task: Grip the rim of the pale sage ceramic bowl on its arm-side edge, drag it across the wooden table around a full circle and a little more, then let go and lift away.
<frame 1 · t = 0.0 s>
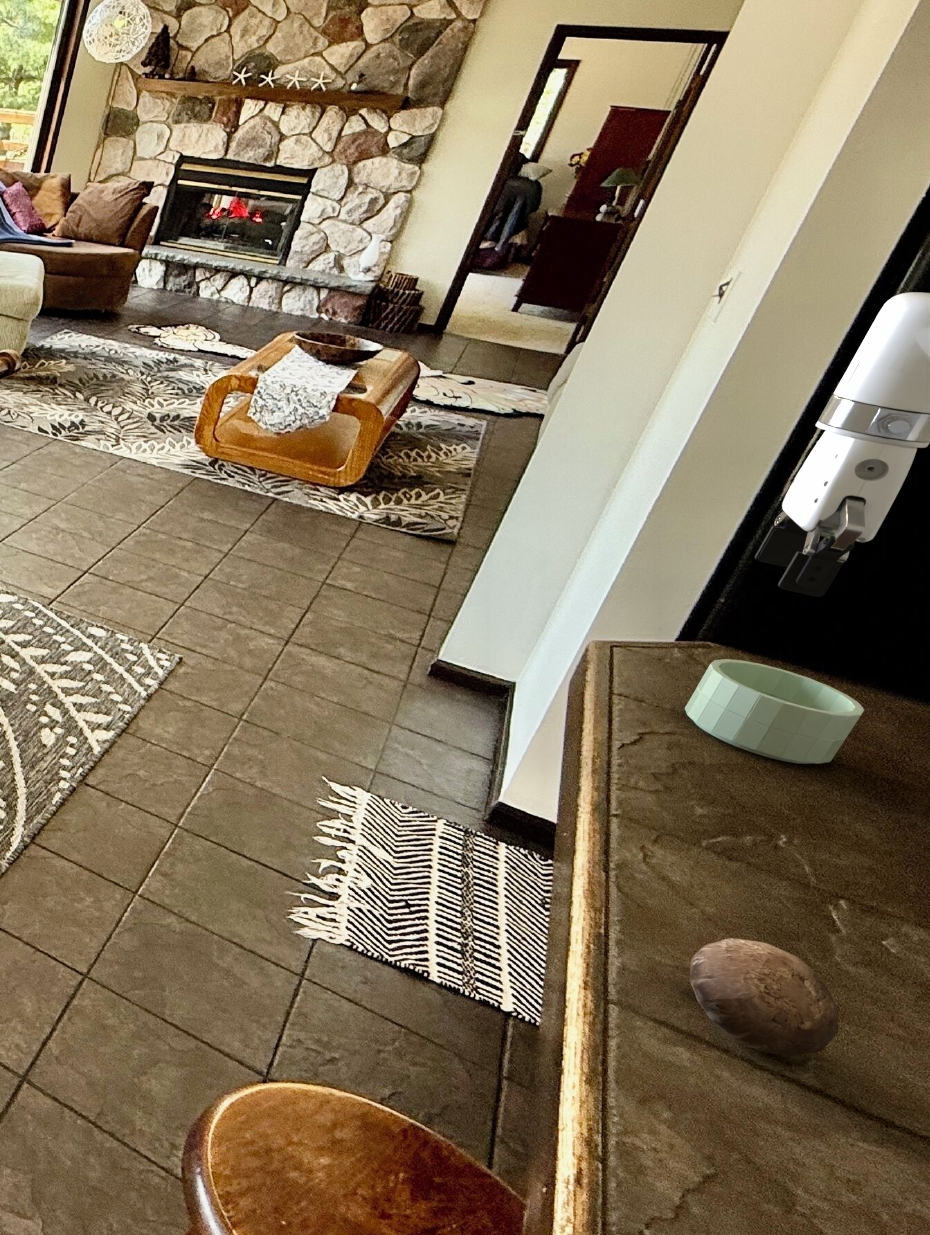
hand: (786, 577, 109), 18 cm above the countertop, tool pointing down, fingers open, 9 cm apart
mushroom: (738, 1027, 74), on the countertop
bowl: (753, 737, 113), on the countertop
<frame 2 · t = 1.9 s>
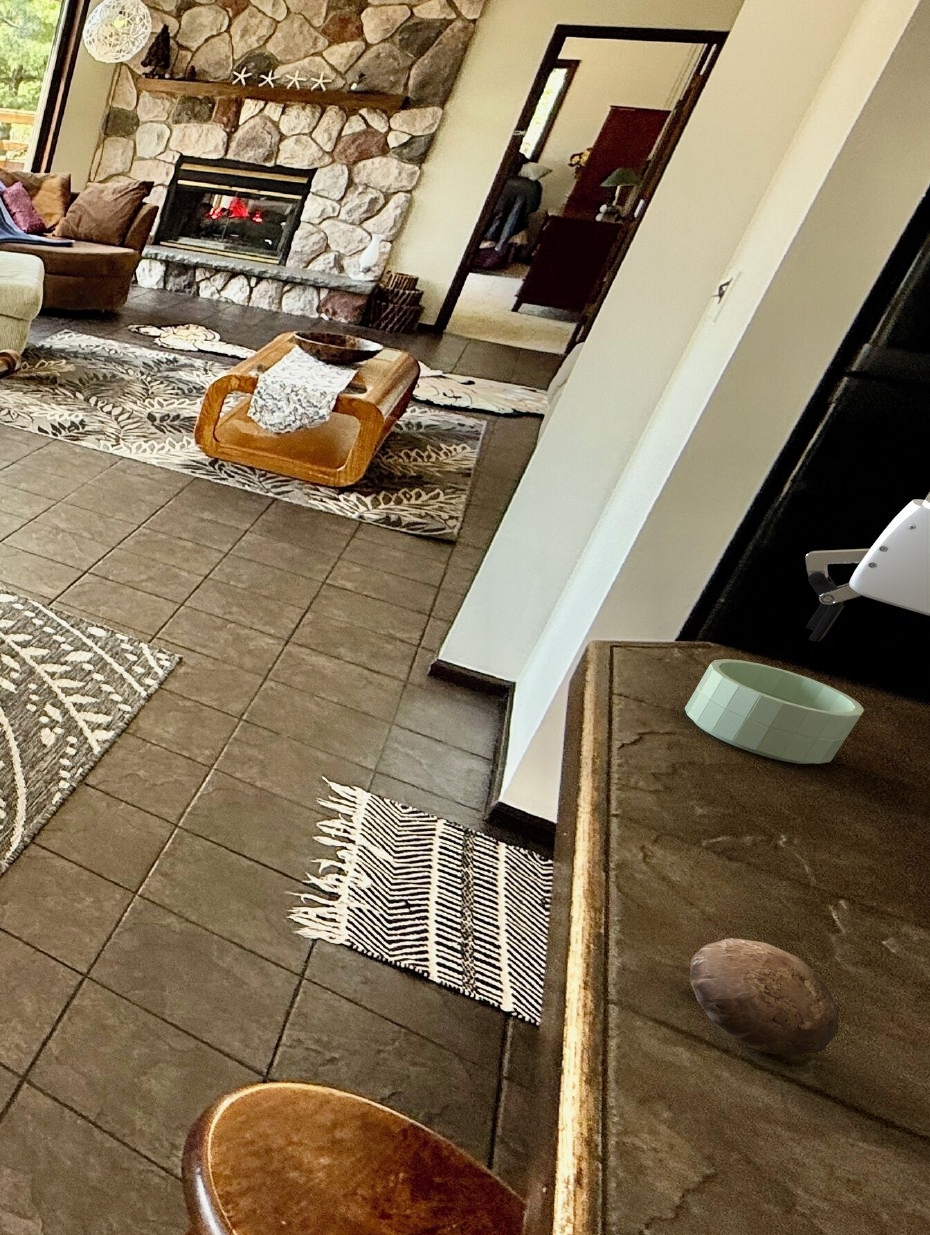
hand: (883, 660, 104), 12 cm above the countertop, tool pointing down, fingers open, 9 cm apart
nothing on the countertop moved.
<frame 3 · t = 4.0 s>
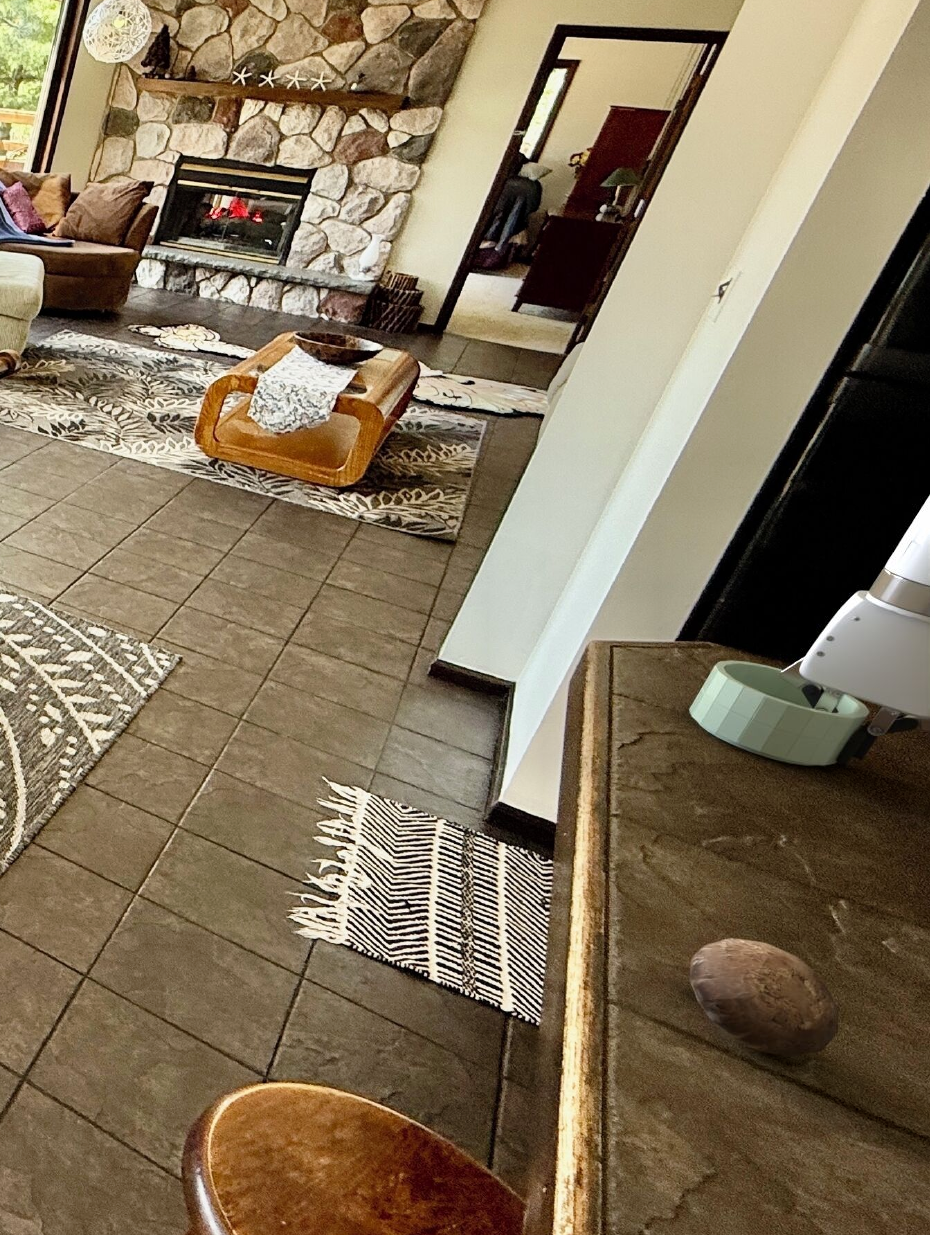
hand: (827, 753, 108), 1 cm above the countertop, tool pointing down, fingers closed on bowl
bowl: (758, 738, 112), on the countertop, touching gripper
everything else where it was.
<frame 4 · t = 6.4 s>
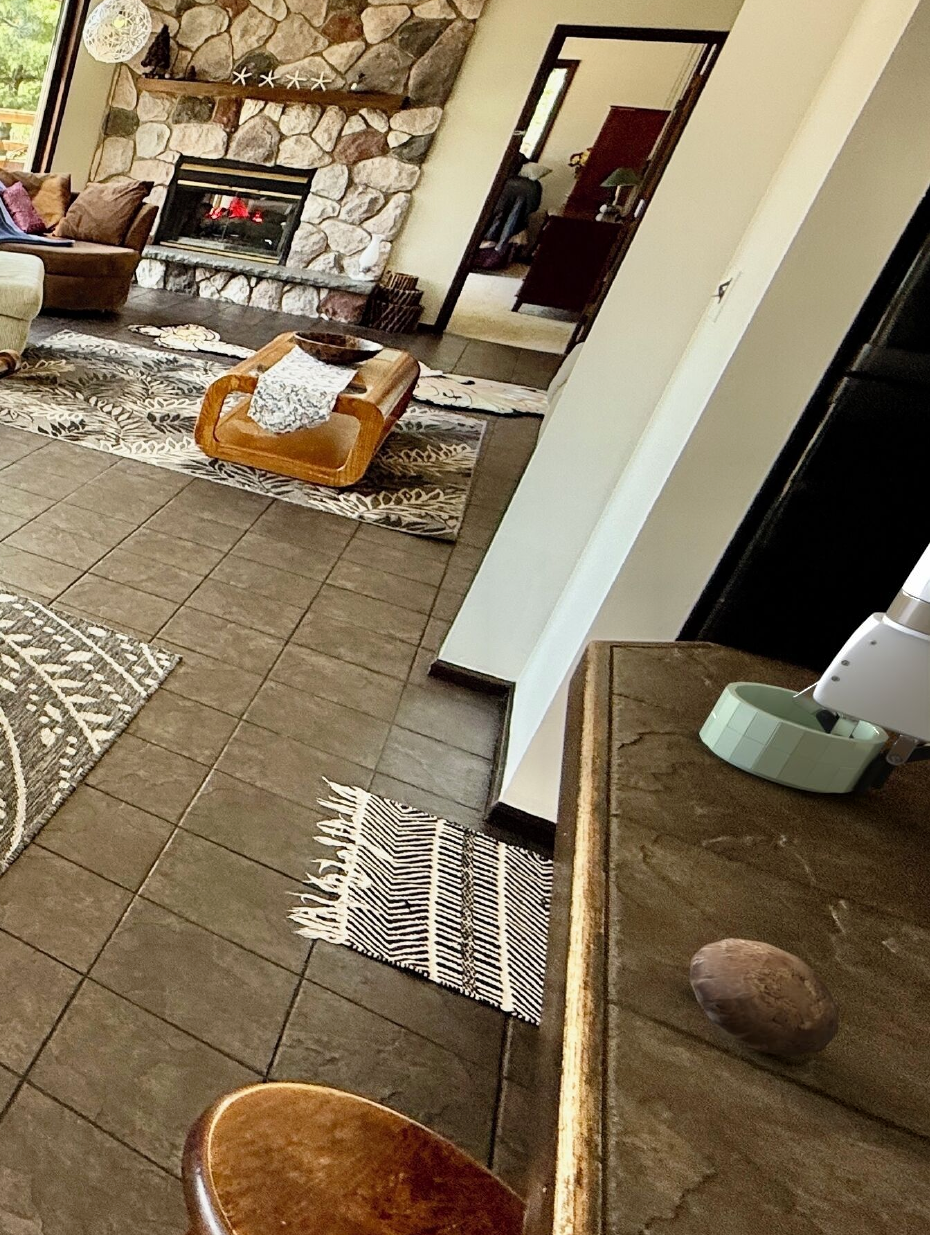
hand: (843, 782, 104), 1 cm above the countertop, tool pointing down, fingers closed on bowl
bowl: (771, 763, 108), on the countertop, touching gripper
everything else where it was.
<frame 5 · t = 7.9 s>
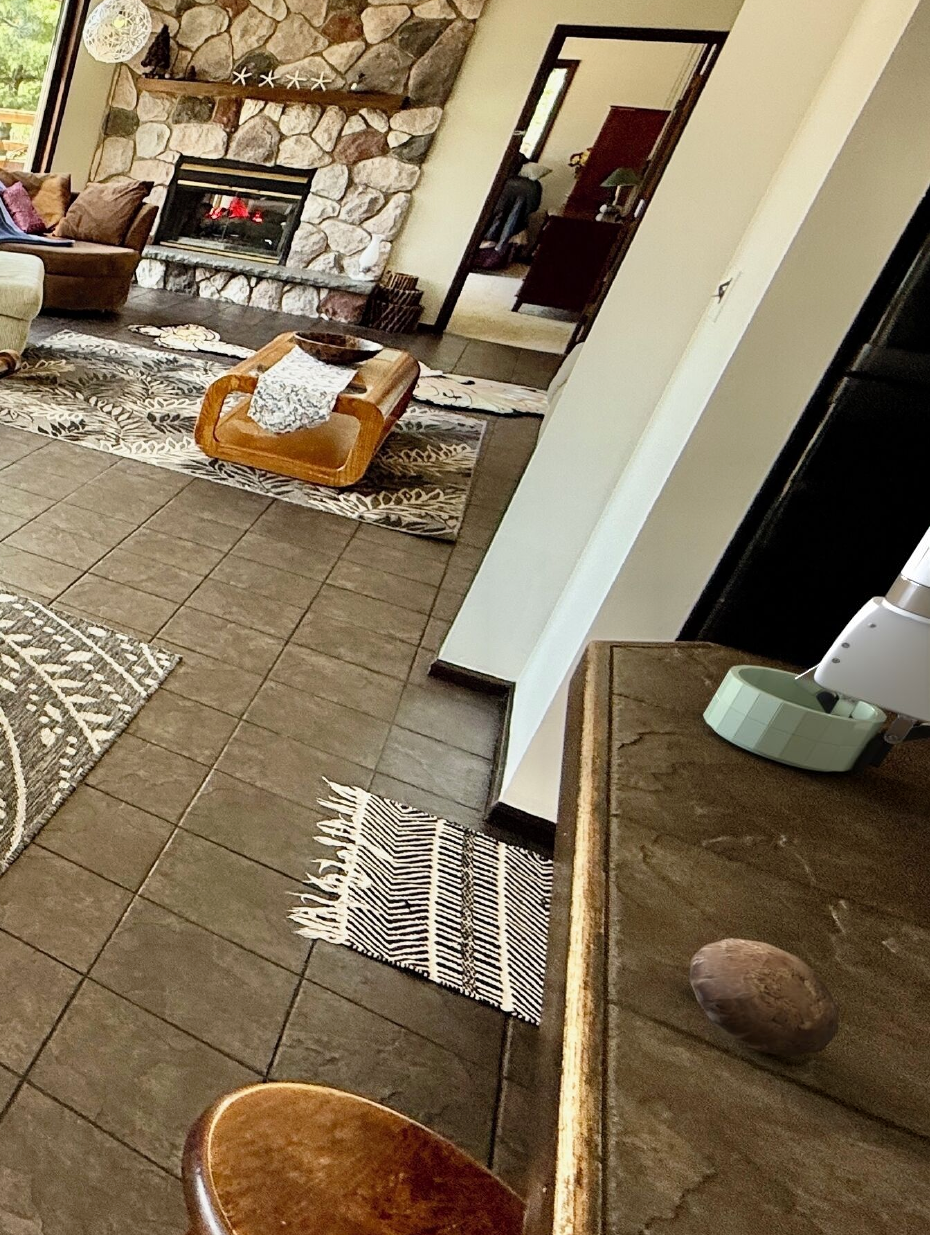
hand: (843, 761, 107), 1 cm above the countertop, tool pointing down, fingers closed on bowl
bowl: (773, 744, 111), on the countertop, touching gripper
everything else where it was.
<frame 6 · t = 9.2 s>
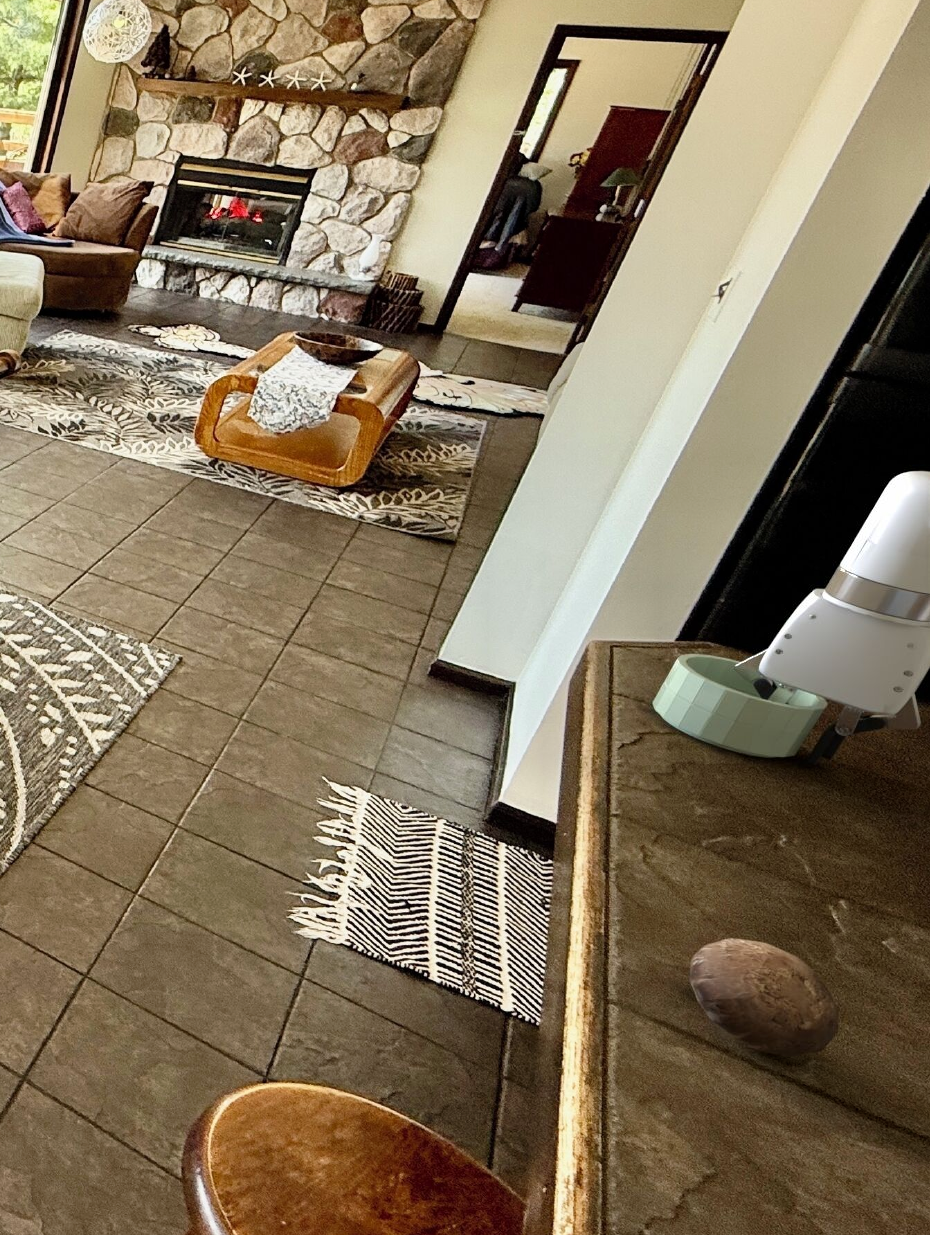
hand: (788, 750, 109), 1 cm above the countertop, tool pointing down, fingers open, 3 cm apart
bowl: (719, 731, 113), on the countertop, touching gripper
everything else where it was.
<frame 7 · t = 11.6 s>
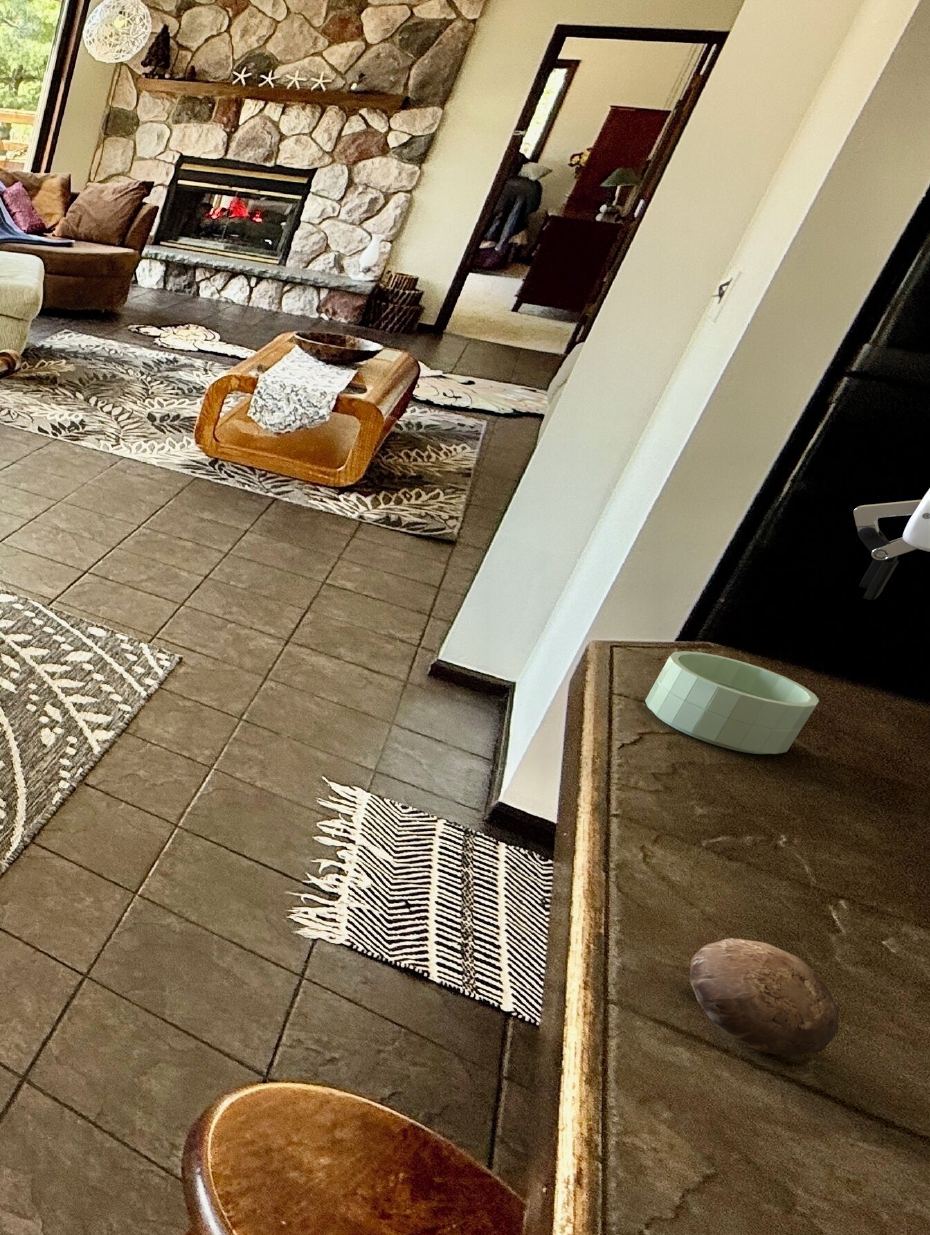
bowl: (712, 728, 114), on the countertop
everything else where it was.
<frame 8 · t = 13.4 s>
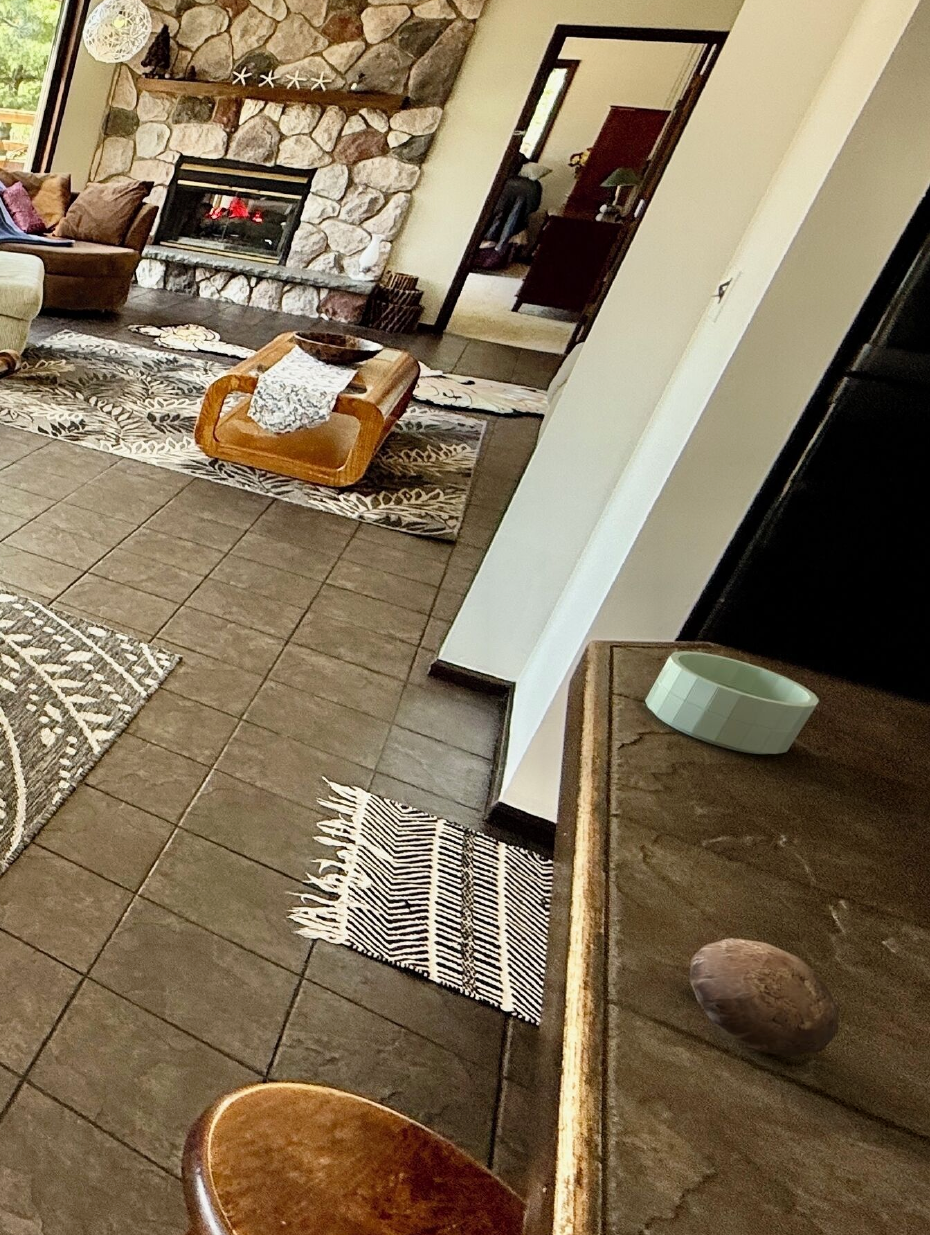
nothing on the countertop moved.
at the end: bowl 0.1 cm from the target spot, on the countertop; bowl tilted 0°; the gripper is holding nothing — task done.
